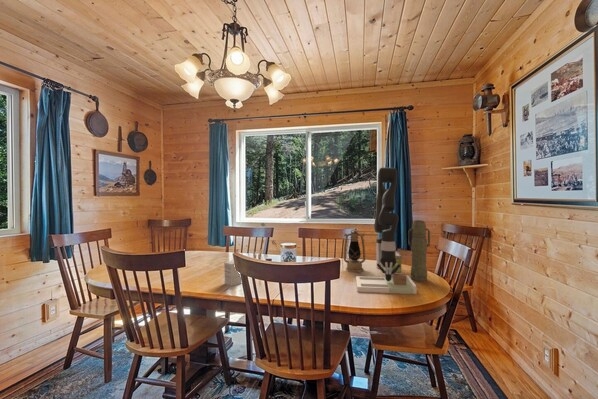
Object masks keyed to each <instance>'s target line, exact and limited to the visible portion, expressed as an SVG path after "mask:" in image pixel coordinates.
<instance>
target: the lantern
mask: <svg viewBox="0 0 598 399" xmlns="http://www.w3.org/2000/svg"><path fill="white" fill-rule="evenodd" d="M353 226H355V227H356V225H353ZM350 232H351V233H344V234H343V235H344V238H343V239H344V240H343V241H344V247H343V261H344V262H345V263H347V264H346V265H347V266H346V268H345V270H346V271H348V272H354V273H358V272H359V273H360V272H364V267H363V263H364V262H365V261H366V249H365V238H364V237H365V234H364V233H358V232H359V230H358V229H357V228H353V229H350ZM349 236H350V237H349ZM359 236H360V237H359ZM348 238H349V239H350V242H349V245H347V244H348ZM359 239H360V240H361V245H362V247H361V246H360V244H359ZM361 248H362V249H361ZM347 249H348V250H347ZM361 250H362V251H361ZM347 254H348V260H347V258H346V257H347ZM361 255H363V256H362V258H361Z"/></svg>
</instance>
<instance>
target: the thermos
mask: <svg viewBox="0 0 598 399" xmlns="http://www.w3.org/2000/svg"><path fill="white" fill-rule="evenodd" d="M407 232H408V233H407V236H408V239H407V240H408V241H407V242H408V246H410V250H411V267H410V276H411V277H410V279H411V280H412V281H413V282H418V283H419V282H422V283H424V282H427V280H428V279H427V277H428V268H427V251H428V247H430V246H431V230H430V229H429V228H427V225H426V222H425V221H424V220H420V219H419V220H414V221H413V222H412V226H411V228H409V229H408V231H407ZM411 234H412V236H411Z"/></svg>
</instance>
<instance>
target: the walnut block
mask: <svg viewBox="0 0 598 399" xmlns="http://www.w3.org/2000/svg"><path fill="white" fill-rule="evenodd" d="M406 276H407V275H406V273H405V272H401V273H393V282H394V285H406Z"/></svg>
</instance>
